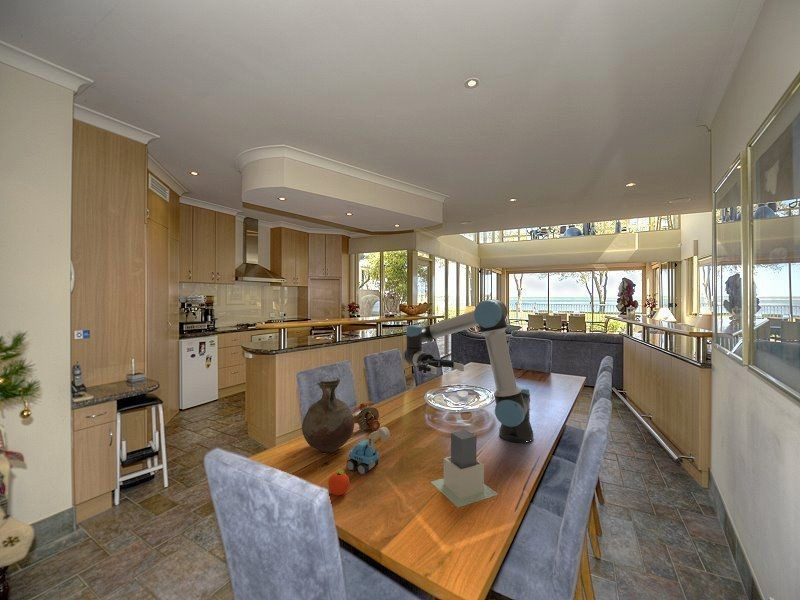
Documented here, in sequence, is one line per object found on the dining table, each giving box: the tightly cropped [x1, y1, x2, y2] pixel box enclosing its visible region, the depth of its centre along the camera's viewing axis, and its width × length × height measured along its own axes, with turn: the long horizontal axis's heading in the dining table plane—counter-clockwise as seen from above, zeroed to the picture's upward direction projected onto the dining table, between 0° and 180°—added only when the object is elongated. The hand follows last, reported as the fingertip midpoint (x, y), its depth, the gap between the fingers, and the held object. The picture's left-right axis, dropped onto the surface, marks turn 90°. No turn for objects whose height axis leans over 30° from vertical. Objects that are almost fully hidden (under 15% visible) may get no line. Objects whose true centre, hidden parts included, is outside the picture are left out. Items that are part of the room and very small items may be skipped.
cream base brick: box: [443, 455, 485, 499], centre depth 115 cm, size 10×10×9 cm
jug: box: [301, 377, 355, 455], centre depth 146 cm, size 22×22×30 cm
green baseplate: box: [430, 477, 499, 508], centre depth 115 cm, size 16×16×1 cm
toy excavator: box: [346, 426, 391, 476], centre depth 129 cm, size 9×17×17 cm, turn 58°
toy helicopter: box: [351, 400, 381, 432], centre depth 166 cm, size 8×21×14 cm, turn 120°
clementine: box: [327, 470, 351, 496], centre depth 114 cm, size 8×7×7 cm
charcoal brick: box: [450, 429, 478, 469], centre depth 115 cm, size 6×6×10 cm
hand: (449, 369), depth 141 cm, fingers open, 13 cm apart
